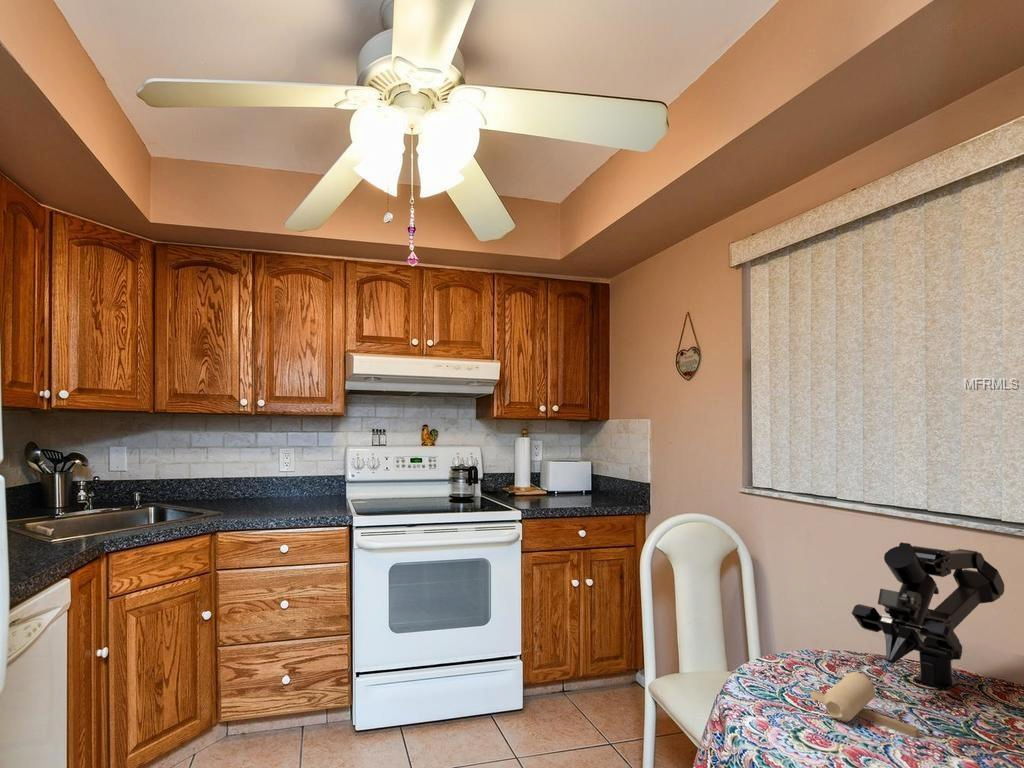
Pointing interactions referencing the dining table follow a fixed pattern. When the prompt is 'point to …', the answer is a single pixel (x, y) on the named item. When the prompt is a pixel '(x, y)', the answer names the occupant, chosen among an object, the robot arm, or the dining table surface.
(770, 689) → the dining table surface
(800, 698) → the dining table surface
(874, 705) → the dining table surface
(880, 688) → the dining table surface
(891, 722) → the oak strip
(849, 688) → the candle
